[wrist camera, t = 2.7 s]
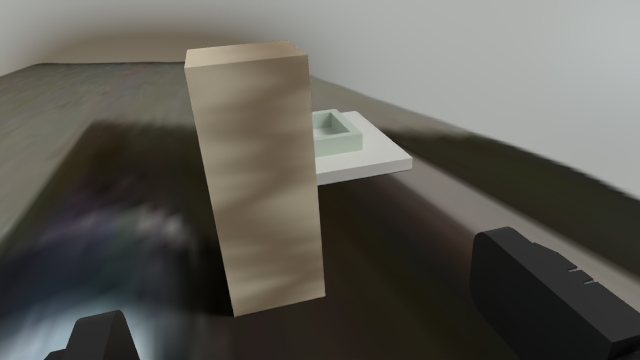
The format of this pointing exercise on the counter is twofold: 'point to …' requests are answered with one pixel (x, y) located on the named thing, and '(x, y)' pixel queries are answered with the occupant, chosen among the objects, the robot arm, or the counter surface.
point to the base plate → (353, 148)
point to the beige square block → (260, 169)
